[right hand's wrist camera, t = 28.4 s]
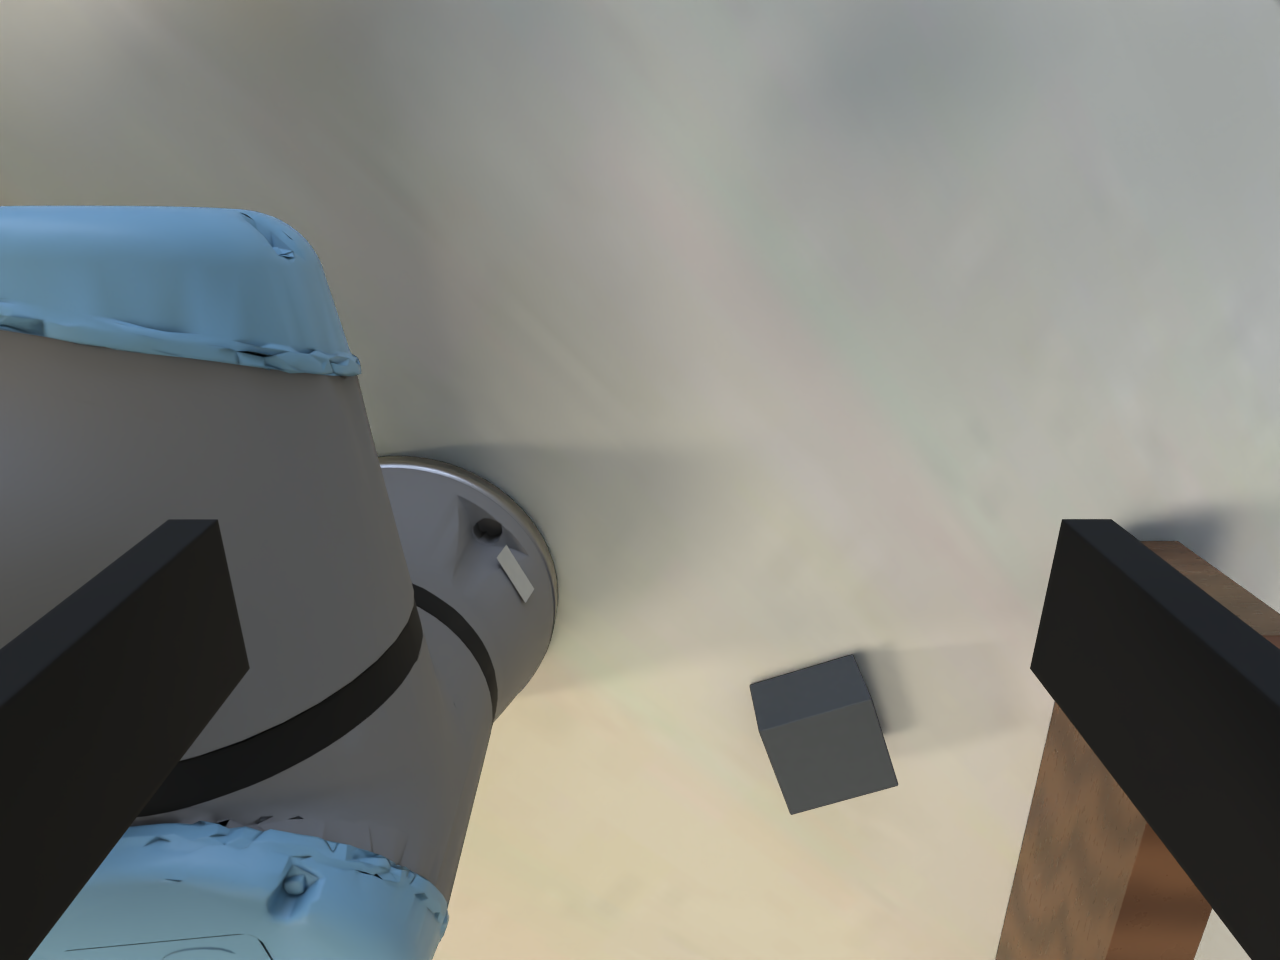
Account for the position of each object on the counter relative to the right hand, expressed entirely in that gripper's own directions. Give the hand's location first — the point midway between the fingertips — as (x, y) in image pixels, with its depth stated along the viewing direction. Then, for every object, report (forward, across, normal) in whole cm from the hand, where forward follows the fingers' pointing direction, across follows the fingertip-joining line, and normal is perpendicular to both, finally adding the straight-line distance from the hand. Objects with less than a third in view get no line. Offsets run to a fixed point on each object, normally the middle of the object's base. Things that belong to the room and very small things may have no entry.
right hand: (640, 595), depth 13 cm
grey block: (+27, +10, -23) cm, 37 cm away
